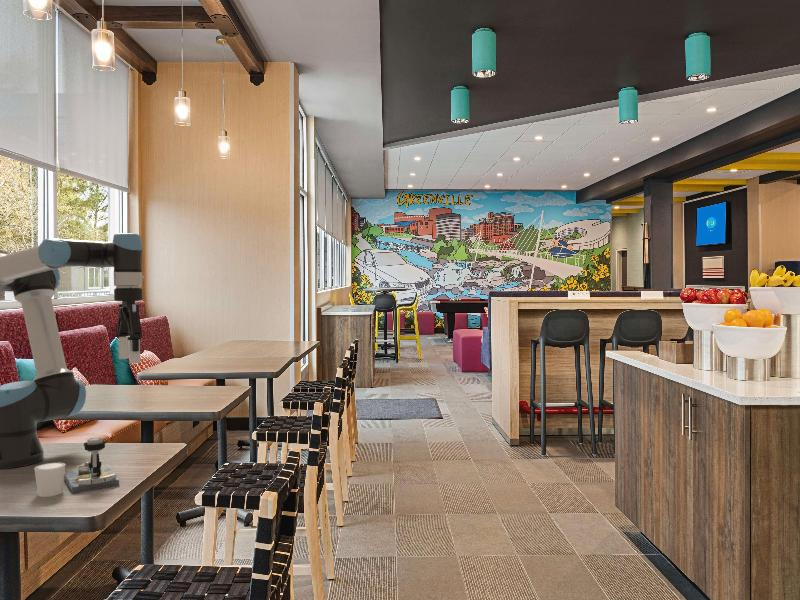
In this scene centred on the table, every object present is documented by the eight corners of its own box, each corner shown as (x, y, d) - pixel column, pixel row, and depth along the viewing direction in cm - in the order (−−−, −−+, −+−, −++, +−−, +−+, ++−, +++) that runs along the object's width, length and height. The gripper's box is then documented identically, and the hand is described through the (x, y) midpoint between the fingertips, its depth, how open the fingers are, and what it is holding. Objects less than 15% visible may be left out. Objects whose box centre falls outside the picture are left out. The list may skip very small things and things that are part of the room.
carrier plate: (63, 478, 173) (63, 463, 173) (107, 471, 180) (107, 457, 180) (72, 493, 161) (72, 477, 161) (119, 485, 167) (118, 469, 167)
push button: (105, 479, 166) (105, 441, 166) (82, 482, 164) (82, 443, 164) (106, 472, 173) (106, 435, 172) (85, 475, 171) (84, 437, 170)
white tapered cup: (58, 487, 166) (58, 460, 166) (70, 492, 162) (70, 465, 162) (30, 493, 161) (29, 466, 161) (41, 499, 157) (41, 471, 156)
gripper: (153, 287, 176) (154, 364, 176) (132, 287, 196) (132, 356, 196) (124, 287, 171) (125, 366, 172) (105, 287, 192) (106, 357, 192)
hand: (129, 361), depth 184 cm, fingers open, 13 cm apart
